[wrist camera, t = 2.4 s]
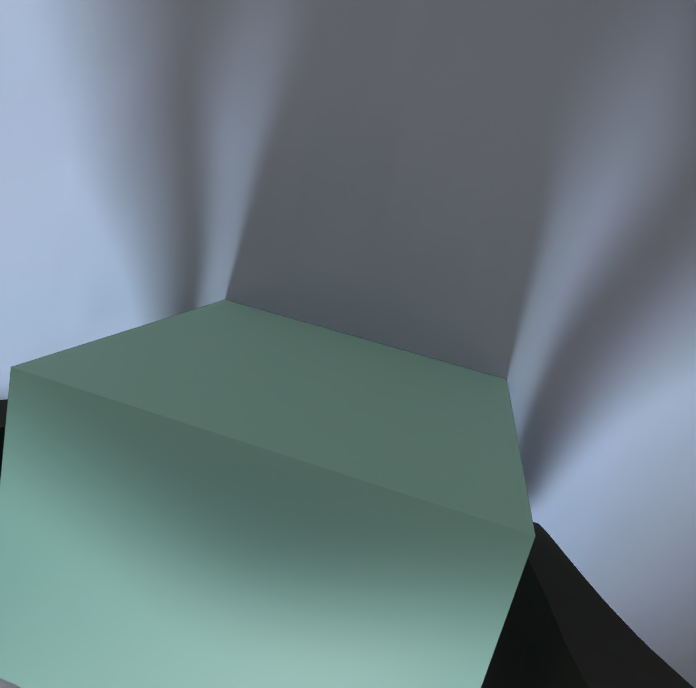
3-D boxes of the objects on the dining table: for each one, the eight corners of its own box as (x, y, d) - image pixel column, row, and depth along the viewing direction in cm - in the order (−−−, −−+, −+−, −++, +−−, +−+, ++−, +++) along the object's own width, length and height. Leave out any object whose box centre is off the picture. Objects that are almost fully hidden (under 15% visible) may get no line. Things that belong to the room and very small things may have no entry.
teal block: (506, 378, 12) (535, 536, 6) (426, 628, 13) (385, 950, 7) (226, 299, 12) (10, 366, 7) (181, 541, 14) (-26, 766, 8)
